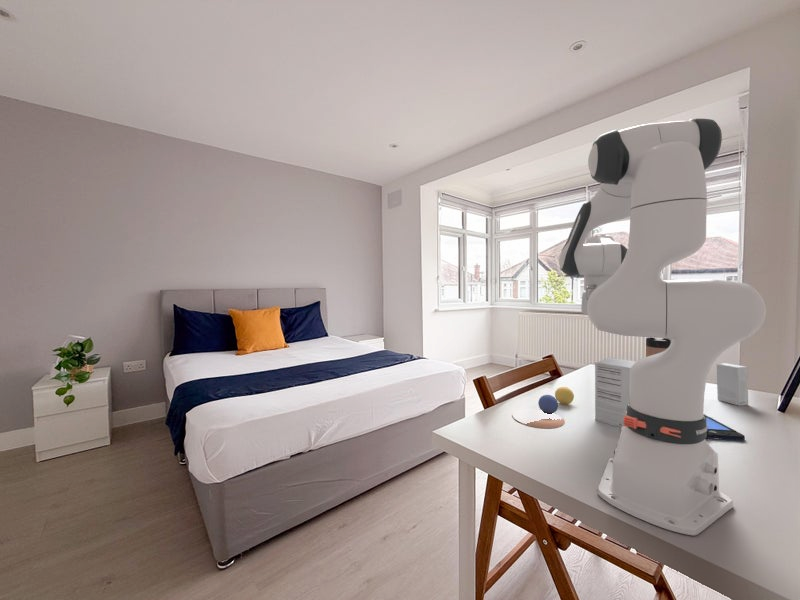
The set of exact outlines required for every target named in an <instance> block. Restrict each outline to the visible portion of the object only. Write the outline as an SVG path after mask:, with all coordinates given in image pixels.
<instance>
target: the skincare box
mask: <svg viewBox="0 0 800 600" xmlns="http://www.w3.org/2000/svg"><path fill="white" fill-rule="evenodd" d="M748 371H749V370H748V366H745V365H740V364H733V363H727V362H722V363H721V362H720V363H717V364H716V385H717V386H716V387H717V388H716V389H717V401H721V402H724V403H729V404H731V405H736V406H740V407H742V406H748V405H749V376H748V375H749V373H748Z"/></svg>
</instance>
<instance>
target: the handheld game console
mask: <svg viewBox="0 0 800 600" xmlns="http://www.w3.org/2000/svg"><path fill="white" fill-rule="evenodd" d="M703 415H704V416H705V417H706V422H707V427H708V429H707V437H706V439H710V440H711V439H713V440H726V441H738V442H739V441H741V442H742V441H745V440H746V438H745V435H744V434H742V433H741V432H738V431H737V430H735V429H733V428H731V427H730V426H727V425H726V424H724V423H721V422H720V421H718V420H716V419H714V418H713V417H710V416H708V415H706V414H705V413H703ZM706 439H705V440H706Z"/></svg>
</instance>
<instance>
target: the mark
mask: <svg viewBox="0 0 800 600" xmlns="http://www.w3.org/2000/svg"><path fill="white" fill-rule="evenodd" d="M563 424H564V425H565V419H564V418H563V419H561V420H560V419H557V420H555V419H554V420H552V419H550V418H549V419H541V420H539V421H534V422H530V423H527V424H526V425H525V426H527V425H529V426H528V427H531V426H533V427H532V428H537V427H538V429H556V427H557V428H560V427H562V426H563ZM559 426H560V427H559Z"/></svg>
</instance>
